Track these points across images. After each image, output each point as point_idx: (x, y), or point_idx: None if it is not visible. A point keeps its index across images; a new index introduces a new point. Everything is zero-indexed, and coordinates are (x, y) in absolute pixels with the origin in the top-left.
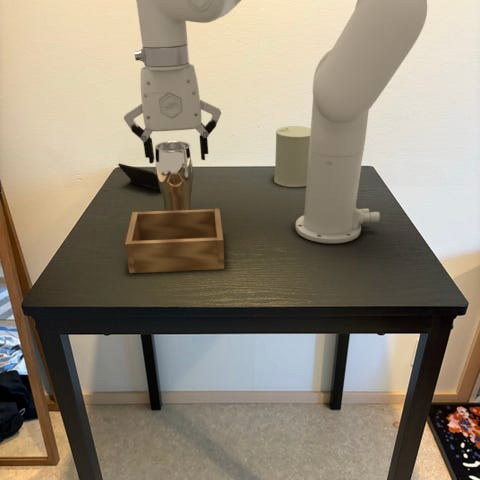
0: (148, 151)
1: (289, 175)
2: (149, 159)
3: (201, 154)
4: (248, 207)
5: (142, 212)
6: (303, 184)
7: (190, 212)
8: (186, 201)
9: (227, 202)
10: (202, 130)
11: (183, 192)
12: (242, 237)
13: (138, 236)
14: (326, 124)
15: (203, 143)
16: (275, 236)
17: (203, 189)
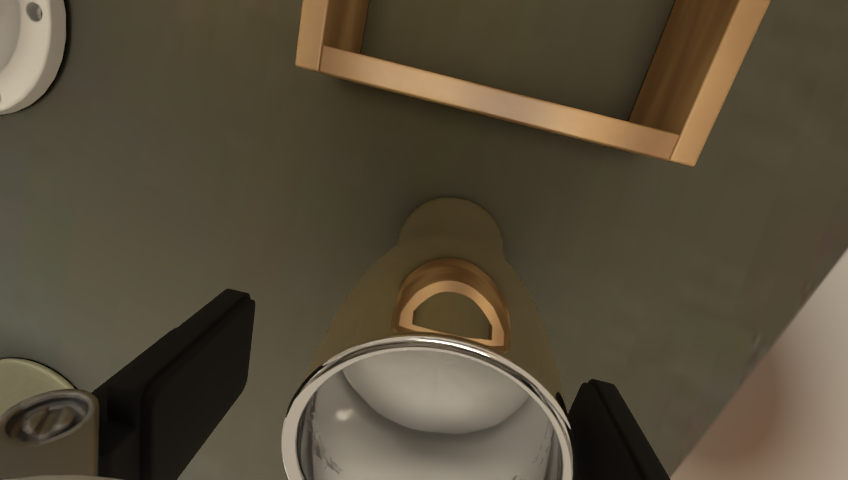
0: (647, 445)
1: (12, 397)
2: (619, 399)
3: (232, 315)
4: (201, 272)
5: (652, 143)
6: (1, 362)
7: (433, 73)
8: (416, 232)
9: (261, 332)
10: (30, 466)
11: (424, 233)
12: (263, 37)
13: (667, 72)
14: None
15: (148, 352)
16: (147, 4)
17: None
